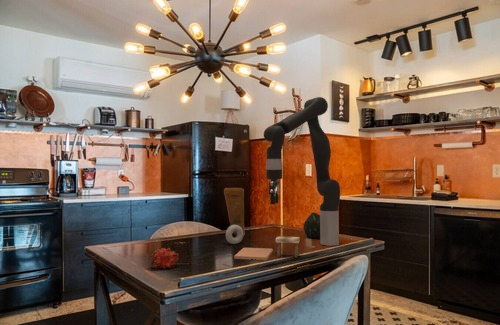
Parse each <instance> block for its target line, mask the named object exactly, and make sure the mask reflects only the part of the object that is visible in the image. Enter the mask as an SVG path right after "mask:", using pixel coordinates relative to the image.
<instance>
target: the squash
mask: <svg viewBox="0 0 500 325" xmlns="http://www.w3.org/2000/svg"><path fill="white" fill-rule="evenodd" d="M302 228H303V232H304V234H305V236H306V237H307V238H310V239H316V238H317V239H318V240H320V213H316V212H310V214H309V215H308V217H307V218H306V219H305V221H304V223H303V227H302Z"/></svg>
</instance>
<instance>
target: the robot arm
mask: <svg viewBox="0 0 500 325" xmlns="http://www.w3.org/2000/svg"><path fill="white" fill-rule="evenodd" d="M328 108H329V104H328V101H327V100H326V98H324V97H321V96H320V97H319V96H317V97H314V98H311V99H308V100H306V101H305V102H304V105H303V108H302V109H301V110H299V111H296V112H294V113H292V114H290V115H287V117H285V118H283V119H282V120H280V121H278V122H276V123H274V124H272V125H270V126H267V127H266V128H265V130H264V132H263V138H264V140H265V141H267V142H271V144H270V146H268V147H267V148H266V163H265V170H266V172H265V174H266V175H265V177H266V180H270V181H269V182H268V195H269V196H270V197H269V201H270V203H269V204H270V205H276V204H278V203H279V195H280V193H281V192H280V181H279V180H282V179H283V155H282V154H283V153H282V150H283V147H284V142H285V139H286V138H285V137H286V135H287V134H290V133H291V132H292V131H295V130H296V129H298V128H299V127H301V126H302V125H304V124H305V123H307V127H308V132H309V137H310V143H311V150H312V156H313V162H314V168H315V176H316V177H315V178H316V179H315V180H316V189H317V191H318V194H319V196H322V197H323V201H322V203H321V204H320V205H319V215H320V239H319V240H320V242H319V244H320V245H323V246H328V247H329V246H330V247H331V246H340V236H339V234H340V233H339V232H340V231H339V230H340V229H339V226H340V225H339V207H340V204H341V203H340V202H341V186H340V183H339V182H338V180H336V179H332V178H331V177H330V176H331V175H330V170H329V169H330V162H331V157H332V149H331V143H330V140H329V137H328V136H327V134H326V133H325V131H324V130H323V129H322V127H321V125H320V120H319V117H320V116H322V115H324V114H325V113H327V111H328Z"/></svg>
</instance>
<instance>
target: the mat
mask: <svg viewBox="0 0 500 325" xmlns="http://www.w3.org/2000/svg"><path fill="white" fill-rule="evenodd" d="M273 252H274V249H273V248H261V247H243V248H242V249H240V250H239V251H238V252H237V253H236V254H234V256H233V257H234V260H251V259H253V261H255V259H256V260H257V261H267V260H268V259H269V258H270V257H271V255H272V254H273Z"/></svg>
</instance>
